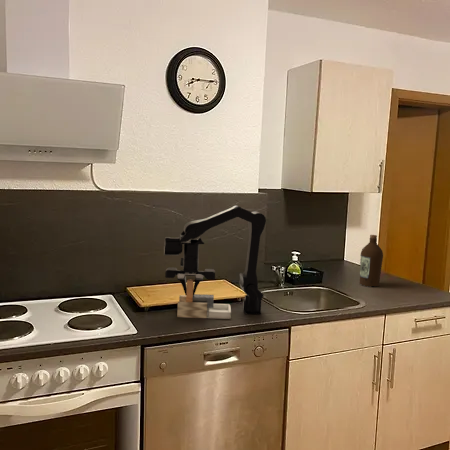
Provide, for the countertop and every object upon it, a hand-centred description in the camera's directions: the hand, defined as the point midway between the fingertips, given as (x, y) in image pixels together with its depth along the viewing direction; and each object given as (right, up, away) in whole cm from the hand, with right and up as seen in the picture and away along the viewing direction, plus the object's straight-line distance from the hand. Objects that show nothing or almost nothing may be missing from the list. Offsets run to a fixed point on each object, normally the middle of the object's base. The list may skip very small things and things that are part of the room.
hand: (189, 295), depth 183 cm
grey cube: (+3, -4, +1) cm, 5 cm away
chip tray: (+11, -8, +1) cm, 13 cm away
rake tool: (0, -4, +1) cm, 4 cm away
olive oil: (+85, -3, +55) cm, 101 cm away
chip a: (+7, -4, +1) cm, 8 cm away
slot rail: (+1, -7, +1) cm, 7 cm away
